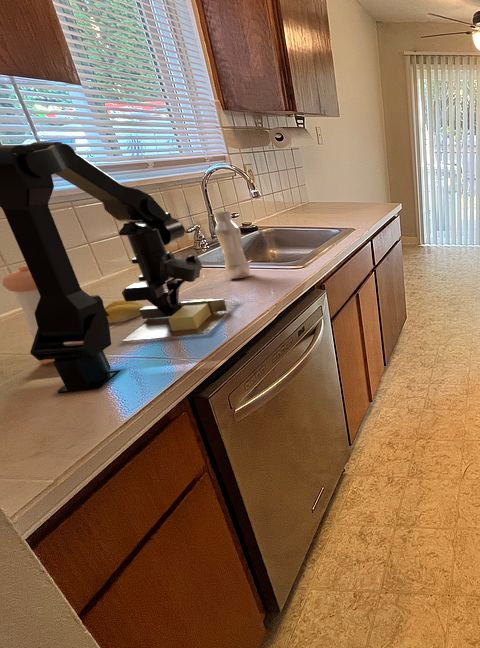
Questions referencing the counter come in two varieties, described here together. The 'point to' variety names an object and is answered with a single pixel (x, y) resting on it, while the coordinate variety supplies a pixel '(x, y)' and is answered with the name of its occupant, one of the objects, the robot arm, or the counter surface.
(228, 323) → the counter surface
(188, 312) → the butter stick
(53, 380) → the counter surface
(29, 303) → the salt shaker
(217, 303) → the knife
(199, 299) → the butter slice
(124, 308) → the bread roll
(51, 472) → the counter surface
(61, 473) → the counter surface
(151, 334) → the board
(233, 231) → the plastic bottle
